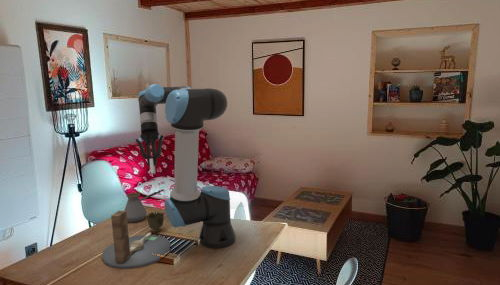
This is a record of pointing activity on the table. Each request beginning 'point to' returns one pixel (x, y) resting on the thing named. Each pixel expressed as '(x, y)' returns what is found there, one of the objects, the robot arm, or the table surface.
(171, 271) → the table surface
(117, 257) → the brown bar with rod
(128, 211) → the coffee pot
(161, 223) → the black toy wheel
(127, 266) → the dial plate
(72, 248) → the table surface
